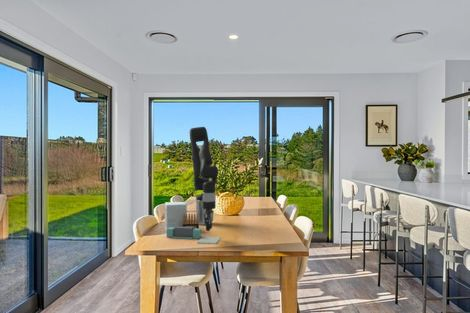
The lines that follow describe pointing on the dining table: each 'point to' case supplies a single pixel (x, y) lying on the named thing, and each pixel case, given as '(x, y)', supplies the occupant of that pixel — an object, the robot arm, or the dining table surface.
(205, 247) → the dining table surface
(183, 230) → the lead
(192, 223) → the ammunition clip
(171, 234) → the clamp
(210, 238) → the mat
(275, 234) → the dining table surface
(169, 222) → the supplement box
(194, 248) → the dining table surface
